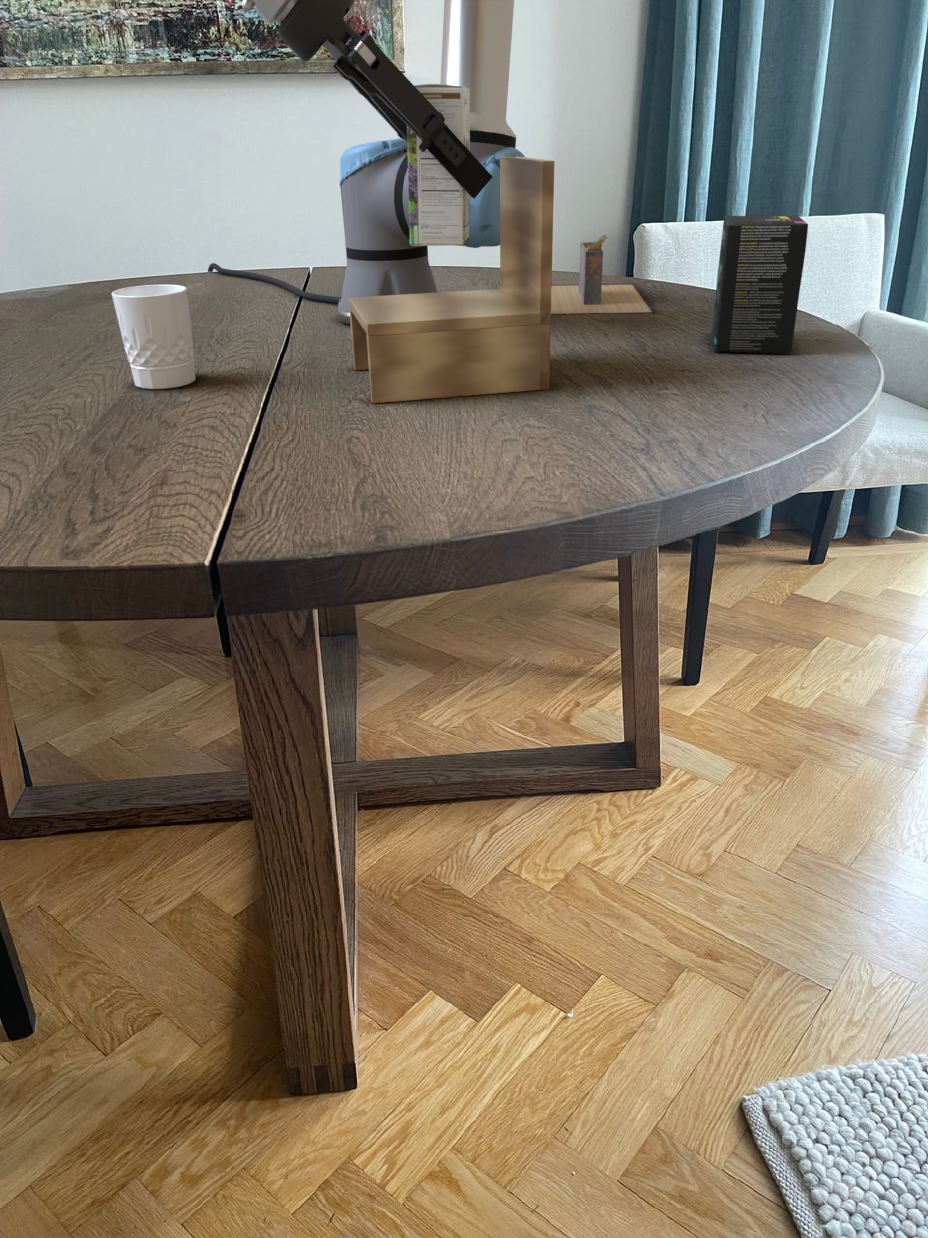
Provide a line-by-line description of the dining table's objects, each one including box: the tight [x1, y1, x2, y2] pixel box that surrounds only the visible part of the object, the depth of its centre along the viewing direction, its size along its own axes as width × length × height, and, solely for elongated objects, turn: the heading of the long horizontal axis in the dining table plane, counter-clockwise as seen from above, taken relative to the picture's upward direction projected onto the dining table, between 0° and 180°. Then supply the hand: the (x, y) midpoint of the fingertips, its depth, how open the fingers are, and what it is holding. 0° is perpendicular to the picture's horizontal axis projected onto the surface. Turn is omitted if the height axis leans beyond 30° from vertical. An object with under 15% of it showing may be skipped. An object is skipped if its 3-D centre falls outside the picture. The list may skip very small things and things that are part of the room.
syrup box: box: [407, 83, 470, 247], centre depth 94 cm, size 6×6×14 cm
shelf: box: [349, 156, 555, 404], centre depth 99 cm, size 19×16×22 cm
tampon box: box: [710, 214, 809, 355], centre depth 113 cm, size 11×9×15 cm
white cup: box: [111, 284, 196, 390], centre depth 103 cm, size 8×8×10 cm
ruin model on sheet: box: [551, 234, 653, 315], centre depth 145 cm, size 25×16×10 cm, turn 178°
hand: (473, 184), depth 96 cm, fingers closed on syrup box, 7 cm apart
